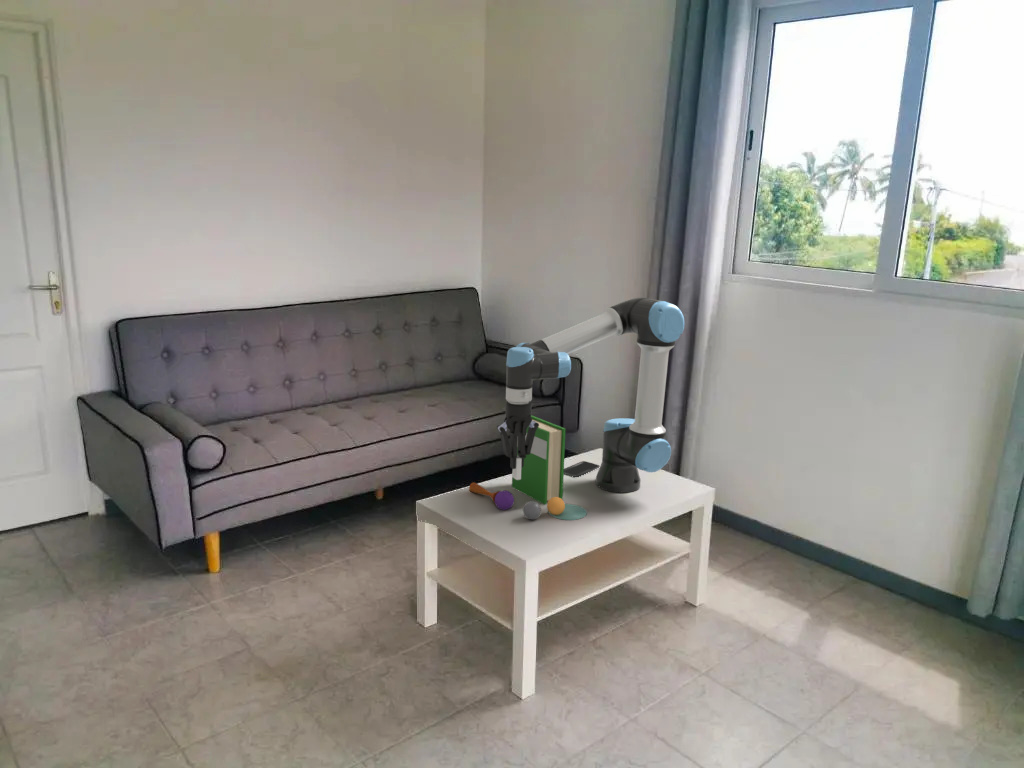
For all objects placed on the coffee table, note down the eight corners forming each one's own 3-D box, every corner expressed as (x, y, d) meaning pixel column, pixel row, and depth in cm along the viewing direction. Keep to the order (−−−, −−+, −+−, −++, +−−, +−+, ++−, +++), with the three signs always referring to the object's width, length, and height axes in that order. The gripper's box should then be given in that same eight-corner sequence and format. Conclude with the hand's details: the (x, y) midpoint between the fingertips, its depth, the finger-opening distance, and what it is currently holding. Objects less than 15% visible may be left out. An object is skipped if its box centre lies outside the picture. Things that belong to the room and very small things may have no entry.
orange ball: (551, 517, 233) (564, 506, 234) (557, 519, 228) (570, 508, 229) (541, 503, 232) (554, 492, 234) (546, 505, 227) (560, 494, 228)
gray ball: (516, 509, 226) (525, 521, 229) (529, 512, 222) (537, 524, 225) (526, 496, 229) (535, 508, 231) (539, 498, 225) (547, 510, 227)
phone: (558, 470, 267) (583, 460, 278) (558, 473, 267) (583, 463, 278) (577, 476, 262) (601, 465, 273) (576, 479, 262) (601, 468, 273)
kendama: (481, 478, 249) (518, 492, 234) (479, 496, 250) (516, 511, 234) (466, 478, 246) (503, 493, 230) (464, 496, 246) (501, 512, 230)
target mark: (582, 504, 240) (582, 503, 240) (590, 519, 228) (590, 518, 228) (545, 504, 238) (545, 504, 238) (551, 520, 227) (551, 519, 226)
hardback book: (562, 499, 243) (565, 428, 237) (544, 504, 239) (547, 432, 233) (529, 482, 257) (531, 415, 251) (511, 487, 252) (513, 418, 247)
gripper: (504, 406, 210) (502, 485, 216) (544, 402, 216) (542, 479, 221) (492, 400, 217) (491, 477, 222) (532, 395, 222) (530, 471, 228)
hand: (516, 478), depth 222 cm, fingers closed
